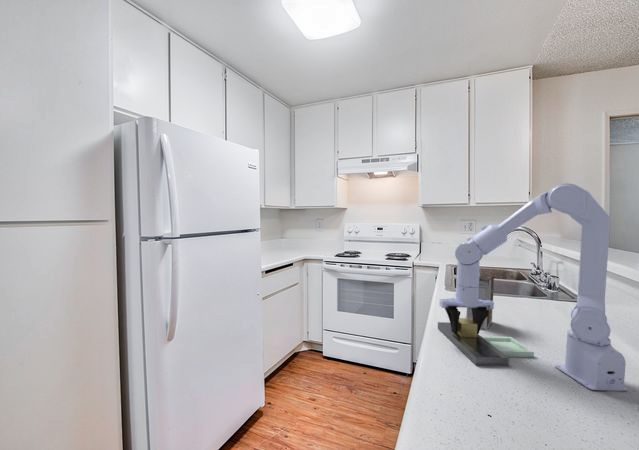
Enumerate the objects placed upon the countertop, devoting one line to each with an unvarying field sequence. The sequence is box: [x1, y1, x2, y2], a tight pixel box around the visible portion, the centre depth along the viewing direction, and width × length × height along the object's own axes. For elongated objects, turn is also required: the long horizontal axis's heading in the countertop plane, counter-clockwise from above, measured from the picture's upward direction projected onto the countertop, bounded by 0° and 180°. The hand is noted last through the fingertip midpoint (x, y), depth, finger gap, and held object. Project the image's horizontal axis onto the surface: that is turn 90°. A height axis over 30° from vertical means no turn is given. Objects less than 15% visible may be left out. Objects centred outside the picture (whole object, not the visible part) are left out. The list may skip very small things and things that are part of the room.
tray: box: [480, 335, 535, 358], centre depth 79 cm, size 9×9×1 cm
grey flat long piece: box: [437, 321, 510, 367], centre depth 81 cm, size 22×8×2 cm, turn 1°
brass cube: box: [454, 317, 478, 339], centre depth 83 cm, size 4×4×6 cm
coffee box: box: [465, 272, 495, 331], centre depth 97 cm, size 9×6×16 cm
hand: (465, 332), depth 83 cm, fingers open, 5 cm apart
